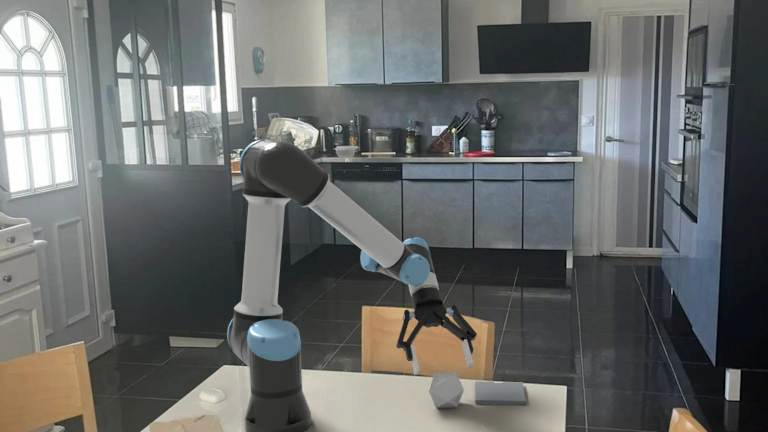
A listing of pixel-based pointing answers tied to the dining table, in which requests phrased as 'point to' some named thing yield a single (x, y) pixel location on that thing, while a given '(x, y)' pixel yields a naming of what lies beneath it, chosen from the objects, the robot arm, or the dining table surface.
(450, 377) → the die
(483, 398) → the slate board
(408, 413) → the dining table surface
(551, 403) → the dining table surface
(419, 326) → the robot arm
